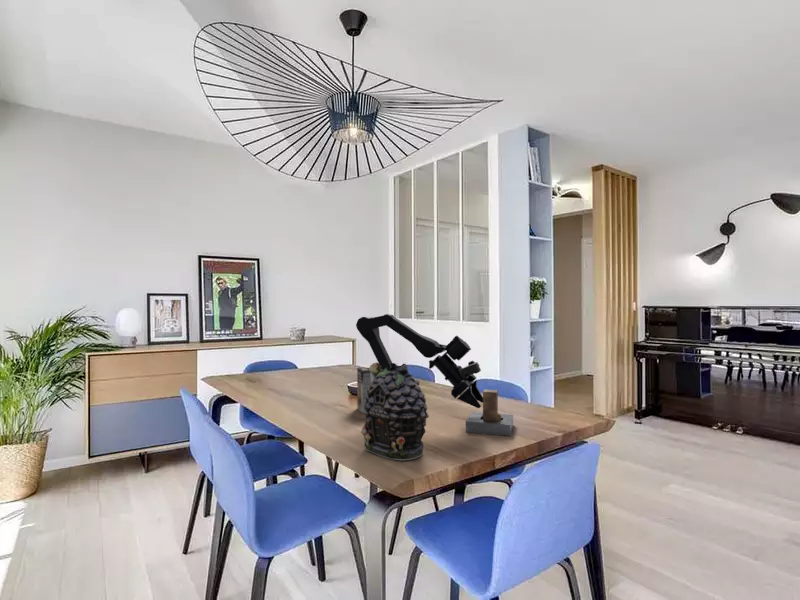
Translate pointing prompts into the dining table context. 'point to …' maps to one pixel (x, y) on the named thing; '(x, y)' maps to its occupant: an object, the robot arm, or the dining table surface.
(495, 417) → the keyed plug
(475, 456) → the dining table surface
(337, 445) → the dining table surface
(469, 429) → the hub block
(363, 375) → the coffee box
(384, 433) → the decorative house
